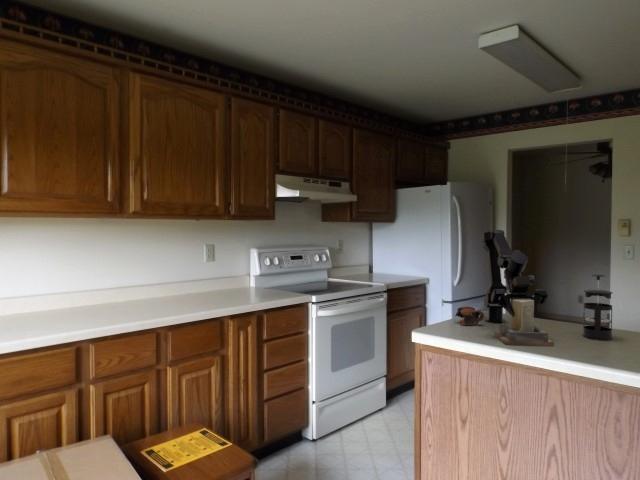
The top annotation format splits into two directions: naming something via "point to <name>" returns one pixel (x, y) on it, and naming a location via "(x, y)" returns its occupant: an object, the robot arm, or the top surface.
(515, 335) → the rail holder
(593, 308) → the french press
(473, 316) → the pottery mug
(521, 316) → the skincare box
